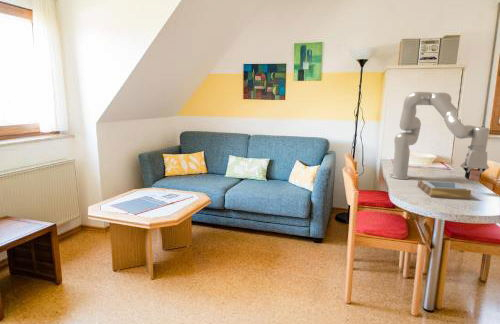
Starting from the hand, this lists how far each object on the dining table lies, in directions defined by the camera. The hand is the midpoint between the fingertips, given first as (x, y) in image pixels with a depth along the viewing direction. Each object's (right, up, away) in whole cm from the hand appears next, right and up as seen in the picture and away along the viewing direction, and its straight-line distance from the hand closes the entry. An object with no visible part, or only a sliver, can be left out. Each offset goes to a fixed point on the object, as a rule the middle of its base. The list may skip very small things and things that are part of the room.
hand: (472, 178), depth 190 cm
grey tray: (-18, -8, -3) cm, 20 cm away
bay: (-17, -8, +1) cm, 19 cm away
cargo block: (0, -1, 0) cm, 1 cm away
